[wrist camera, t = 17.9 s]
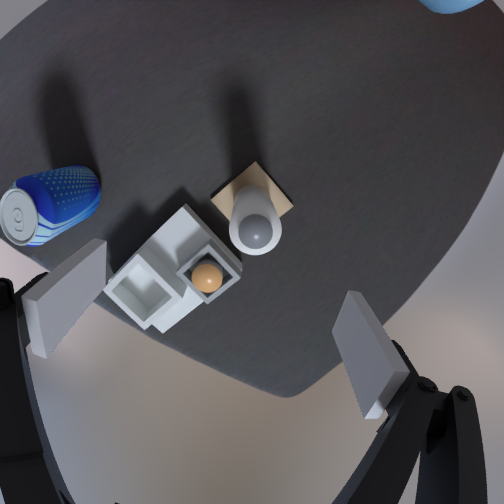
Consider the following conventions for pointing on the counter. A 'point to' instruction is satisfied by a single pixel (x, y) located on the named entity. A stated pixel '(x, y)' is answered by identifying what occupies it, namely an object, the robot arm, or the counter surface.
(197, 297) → the housing
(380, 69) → the counter surface
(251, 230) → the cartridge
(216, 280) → the tan dome
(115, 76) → the counter surface
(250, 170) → the coaster
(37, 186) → the beer can
